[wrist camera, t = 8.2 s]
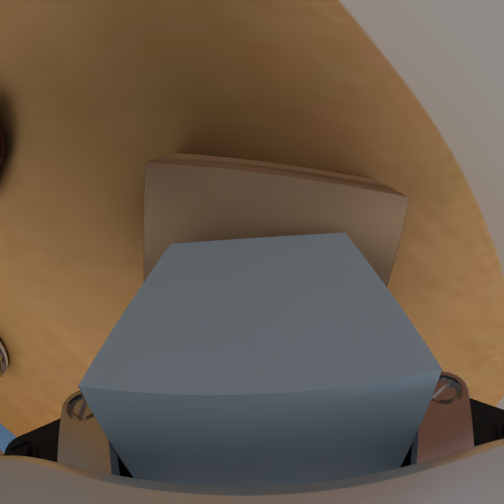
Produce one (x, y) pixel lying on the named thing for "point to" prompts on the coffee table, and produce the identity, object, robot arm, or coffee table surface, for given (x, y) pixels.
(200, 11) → the coffee table surface
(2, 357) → the supplement bottle
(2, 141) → the red tall rounded piece
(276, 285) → the blue cube
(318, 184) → the walnut block
